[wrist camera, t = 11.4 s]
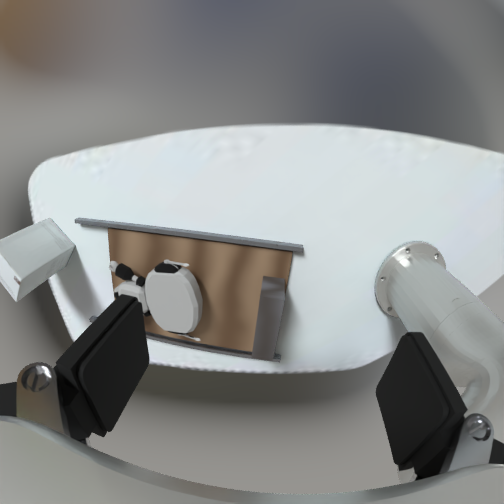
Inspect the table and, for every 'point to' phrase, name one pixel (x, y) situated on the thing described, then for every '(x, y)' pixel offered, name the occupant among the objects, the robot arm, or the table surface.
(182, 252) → the brown rectangular mat
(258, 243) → the guide rails
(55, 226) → the skincare box
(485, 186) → the table surface
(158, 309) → the robot toy
